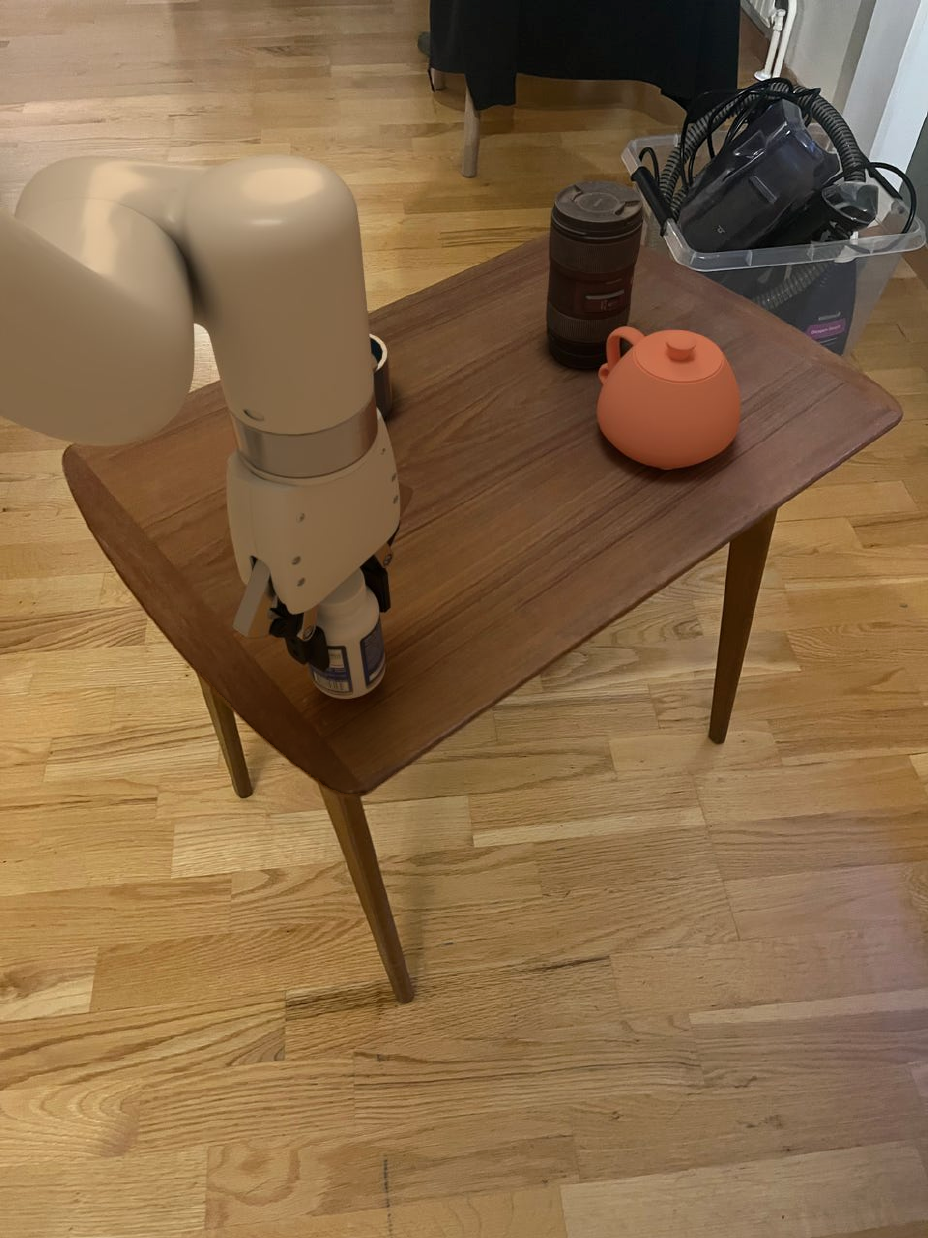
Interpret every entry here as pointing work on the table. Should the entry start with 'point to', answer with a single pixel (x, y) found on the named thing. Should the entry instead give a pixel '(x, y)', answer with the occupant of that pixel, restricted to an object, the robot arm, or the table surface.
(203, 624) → the table surface
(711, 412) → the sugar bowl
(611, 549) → the table surface
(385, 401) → the cup
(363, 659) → the pill bottle
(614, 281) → the camera lens
